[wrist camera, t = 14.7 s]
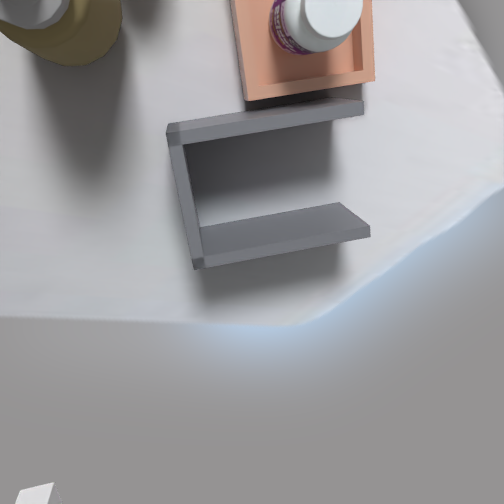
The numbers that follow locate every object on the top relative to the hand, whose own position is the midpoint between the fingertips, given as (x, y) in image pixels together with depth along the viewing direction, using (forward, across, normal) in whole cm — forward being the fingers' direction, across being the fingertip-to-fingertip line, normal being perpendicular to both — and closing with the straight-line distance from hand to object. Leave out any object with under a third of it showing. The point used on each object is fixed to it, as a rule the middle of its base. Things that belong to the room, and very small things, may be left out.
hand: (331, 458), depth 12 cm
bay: (+34, +4, 0) cm, 35 cm away
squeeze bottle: (+35, -9, +15) cm, 39 cm away
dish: (+34, +9, +12) cm, 38 cm away
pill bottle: (+34, +9, +12) cm, 37 cm away
